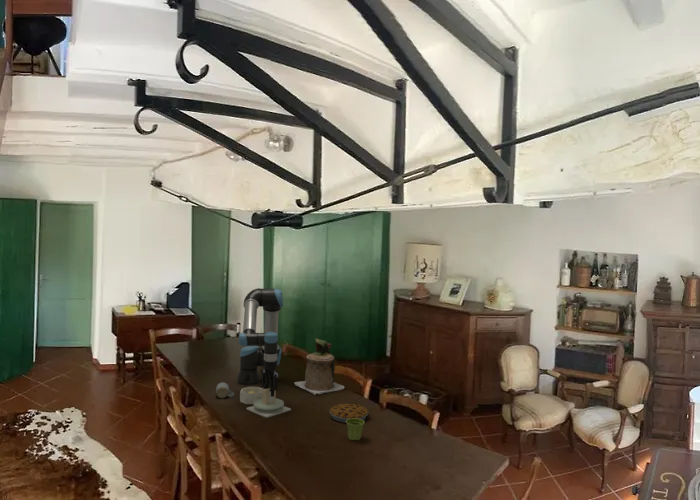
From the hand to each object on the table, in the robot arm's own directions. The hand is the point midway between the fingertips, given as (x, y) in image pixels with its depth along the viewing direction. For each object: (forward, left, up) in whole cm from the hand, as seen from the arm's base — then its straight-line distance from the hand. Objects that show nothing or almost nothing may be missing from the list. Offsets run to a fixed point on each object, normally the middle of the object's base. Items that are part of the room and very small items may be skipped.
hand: (269, 400), depth 310 cm
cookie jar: (-51, -10, -5) cm, 52 cm away
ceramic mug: (+5, -36, -5) cm, 36 cm away
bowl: (-3, -19, -5) cm, 20 cm away
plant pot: (-6, +60, -5) cm, 61 cm away
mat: (0, 0, -5) cm, 5 cm away
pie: (-26, +38, -6) cm, 46 cm away
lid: (0, 0, -2) cm, 2 cm away
